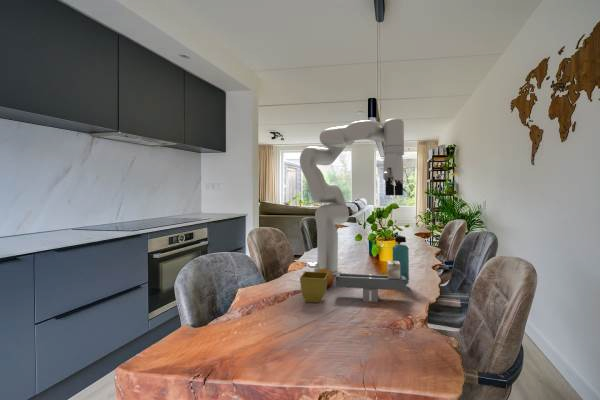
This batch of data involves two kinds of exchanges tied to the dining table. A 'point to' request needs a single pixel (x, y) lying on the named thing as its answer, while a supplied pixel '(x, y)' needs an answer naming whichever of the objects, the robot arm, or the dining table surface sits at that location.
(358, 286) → the beam
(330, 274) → the fruit
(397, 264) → the rider
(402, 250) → the beverage bottle
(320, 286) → the flower pot
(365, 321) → the dining table surface
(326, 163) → the robot arm
